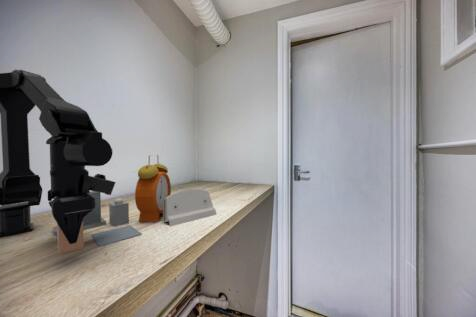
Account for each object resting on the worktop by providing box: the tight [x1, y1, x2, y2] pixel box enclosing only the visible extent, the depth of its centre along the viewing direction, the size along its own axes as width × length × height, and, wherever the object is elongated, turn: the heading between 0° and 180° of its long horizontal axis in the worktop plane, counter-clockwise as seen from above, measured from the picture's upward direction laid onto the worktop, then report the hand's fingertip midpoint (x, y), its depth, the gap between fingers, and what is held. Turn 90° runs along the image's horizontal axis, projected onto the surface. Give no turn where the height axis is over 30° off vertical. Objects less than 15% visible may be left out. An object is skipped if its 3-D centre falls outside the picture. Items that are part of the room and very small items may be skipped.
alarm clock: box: [134, 154, 172, 223], centre depth 65 cm, size 13×6×20 cm, turn 178°
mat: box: [90, 224, 143, 247], centre depth 50 cm, size 9×9×1 cm
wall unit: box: [52, 190, 107, 237], centre depth 55 cm, size 5×11×10 cm, turn 136°
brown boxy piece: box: [56, 221, 85, 255], centre depth 43 cm, size 4×4×7 cm
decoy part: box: [108, 197, 130, 228], centre depth 59 cm, size 4×4×7 cm
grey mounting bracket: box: [162, 188, 217, 227], centre depth 64 cm, size 17×5×10 cm, turn 132°
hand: (70, 236), depth 44 cm, fingers open, 9 cm apart
